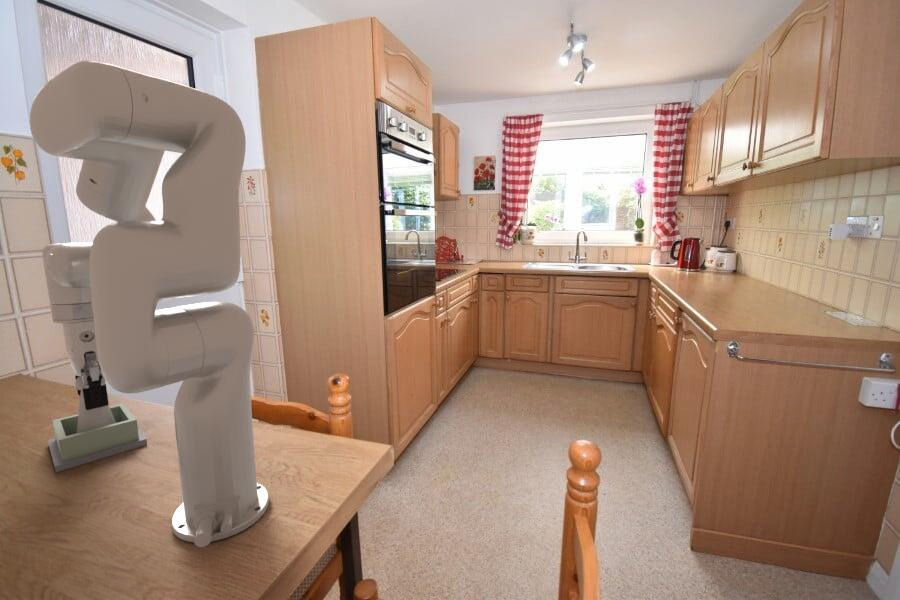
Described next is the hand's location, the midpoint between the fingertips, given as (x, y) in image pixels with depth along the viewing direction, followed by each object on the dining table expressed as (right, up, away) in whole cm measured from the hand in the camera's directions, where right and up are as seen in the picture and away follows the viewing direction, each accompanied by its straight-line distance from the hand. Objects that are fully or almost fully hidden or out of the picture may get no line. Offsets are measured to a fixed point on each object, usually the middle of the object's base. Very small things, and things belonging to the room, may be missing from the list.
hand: (93, 400), depth 79 cm
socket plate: (-1, -9, +2) cm, 9 cm away
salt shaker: (0, -8, +1) cm, 8 cm away
